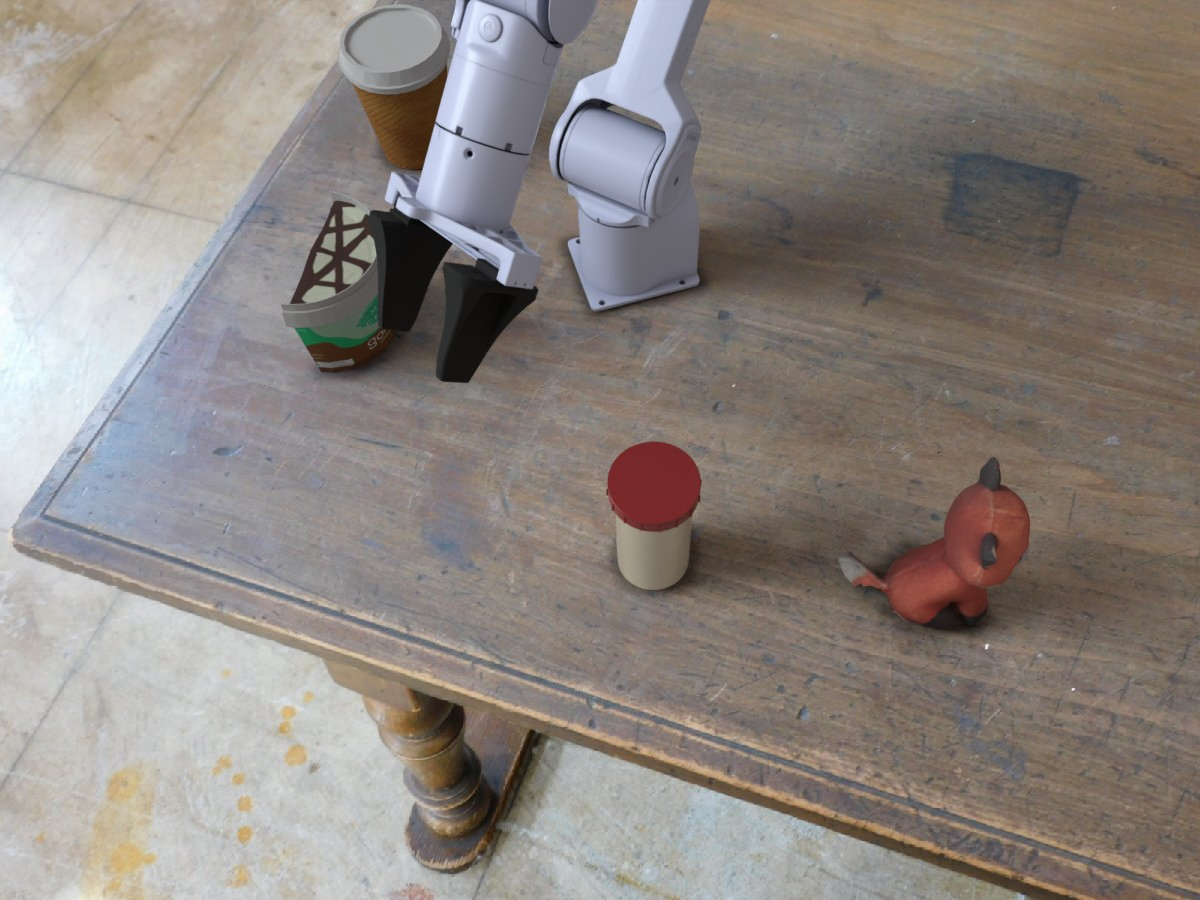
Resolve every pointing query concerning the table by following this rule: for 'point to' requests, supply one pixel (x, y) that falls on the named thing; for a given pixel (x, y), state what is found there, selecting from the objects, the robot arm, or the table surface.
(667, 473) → the lid
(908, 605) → the stuffed fox
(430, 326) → the table surface
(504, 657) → the table surface
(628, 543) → the jar
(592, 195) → the robot arm
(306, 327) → the food container
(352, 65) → the disposable coffee cup
